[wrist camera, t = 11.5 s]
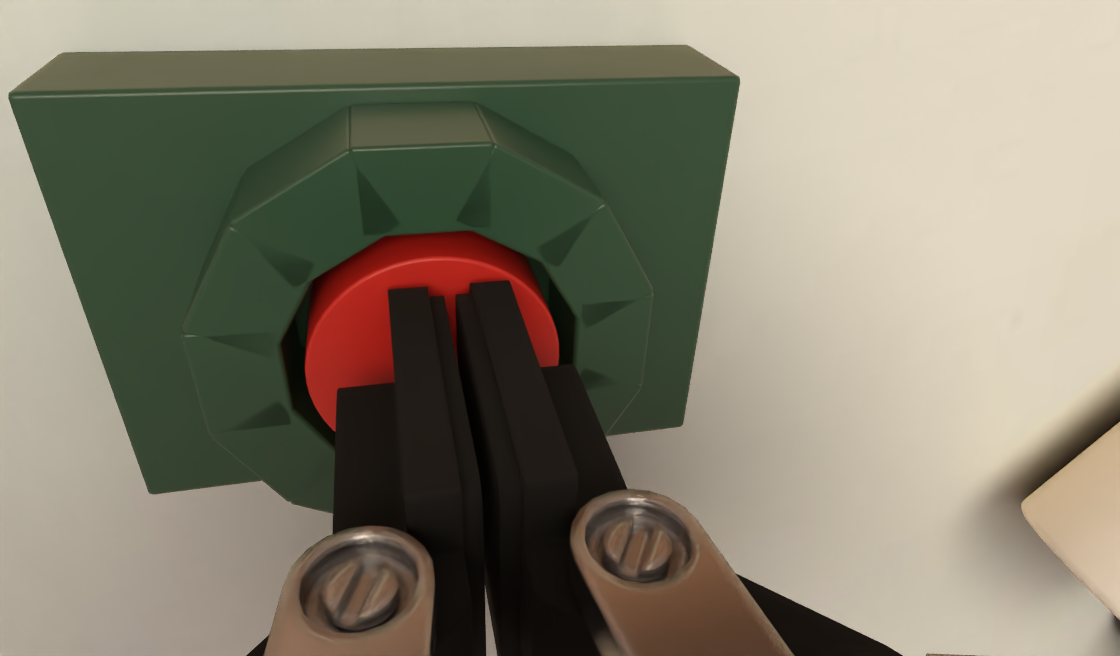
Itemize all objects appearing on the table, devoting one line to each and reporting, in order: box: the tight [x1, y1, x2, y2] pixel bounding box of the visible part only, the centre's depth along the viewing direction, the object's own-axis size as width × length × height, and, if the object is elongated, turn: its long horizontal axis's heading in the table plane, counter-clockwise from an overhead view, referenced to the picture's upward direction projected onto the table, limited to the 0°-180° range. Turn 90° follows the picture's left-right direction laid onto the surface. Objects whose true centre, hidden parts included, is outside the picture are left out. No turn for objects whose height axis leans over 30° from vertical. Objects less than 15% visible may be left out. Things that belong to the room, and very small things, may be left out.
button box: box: [8, 45, 740, 514], centre depth 12 cm, size 10×7×4 cm
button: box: [305, 231, 559, 432], centre depth 11 cm, size 4×4×2 cm
